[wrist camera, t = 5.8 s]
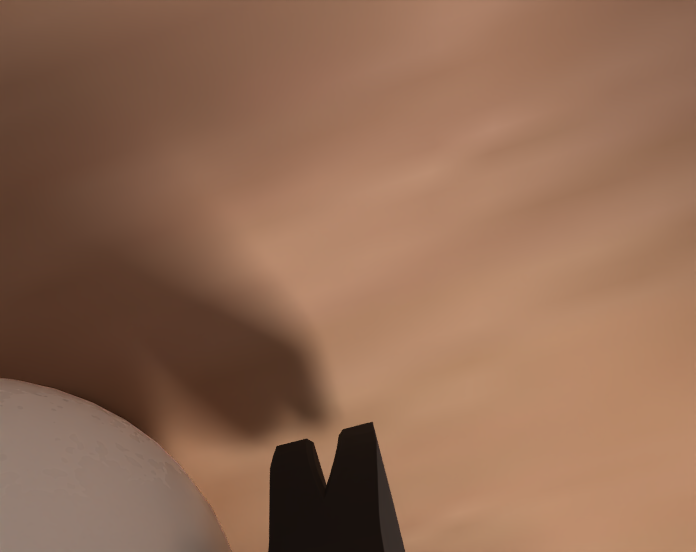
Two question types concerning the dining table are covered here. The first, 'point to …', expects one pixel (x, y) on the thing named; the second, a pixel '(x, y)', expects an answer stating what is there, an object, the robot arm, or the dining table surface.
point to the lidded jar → (91, 481)
